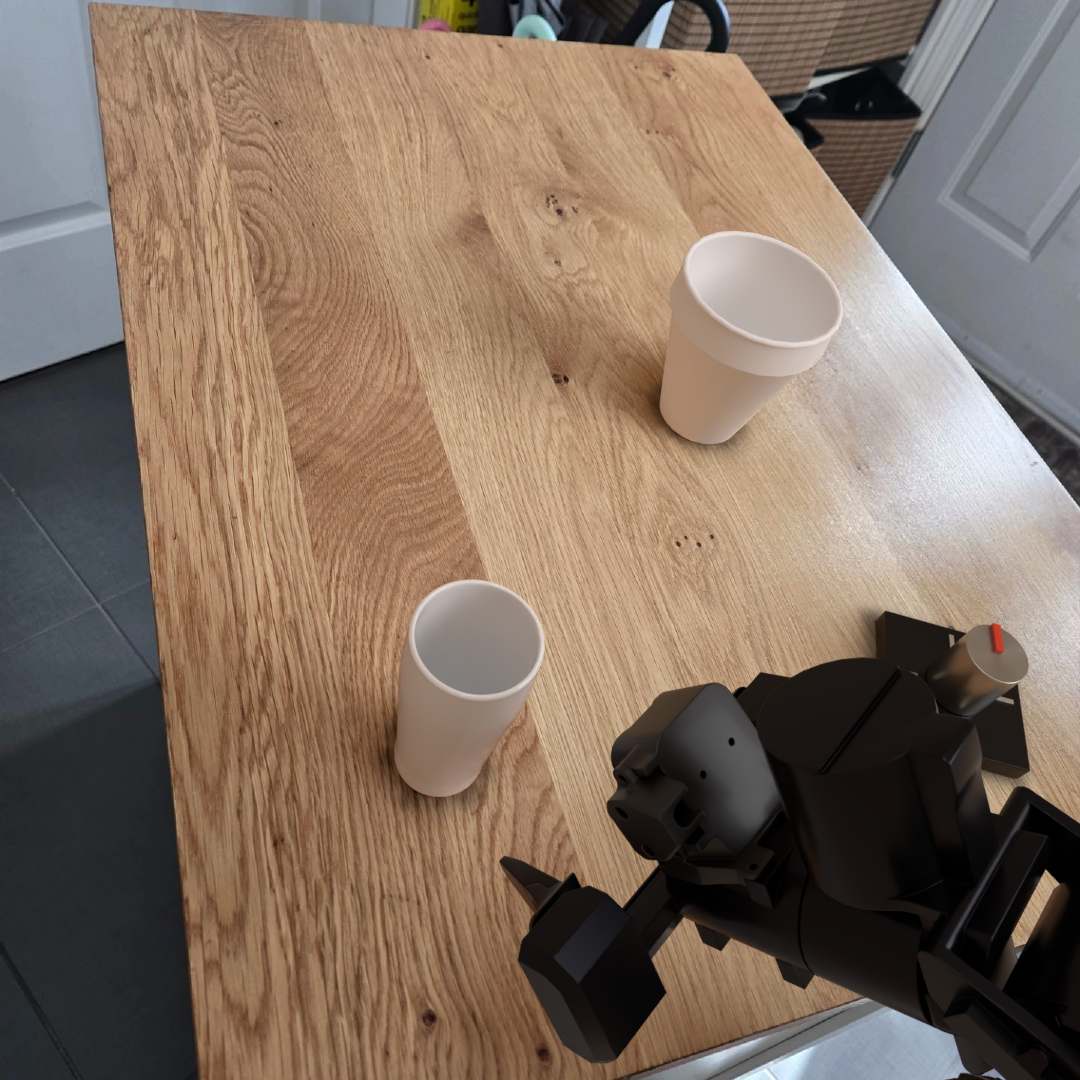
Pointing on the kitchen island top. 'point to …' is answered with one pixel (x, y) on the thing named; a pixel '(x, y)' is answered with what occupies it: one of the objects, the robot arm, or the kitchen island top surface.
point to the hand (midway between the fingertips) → (565, 801)
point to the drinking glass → (462, 682)
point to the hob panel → (994, 724)
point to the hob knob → (977, 670)
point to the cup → (741, 330)
